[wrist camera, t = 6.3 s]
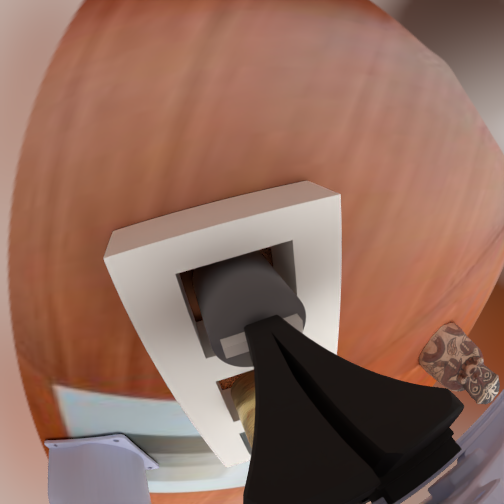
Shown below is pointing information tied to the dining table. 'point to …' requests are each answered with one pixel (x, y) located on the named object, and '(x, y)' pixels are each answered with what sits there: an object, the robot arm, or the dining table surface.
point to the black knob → (242, 302)
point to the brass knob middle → (245, 402)
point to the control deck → (214, 250)
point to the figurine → (459, 364)
